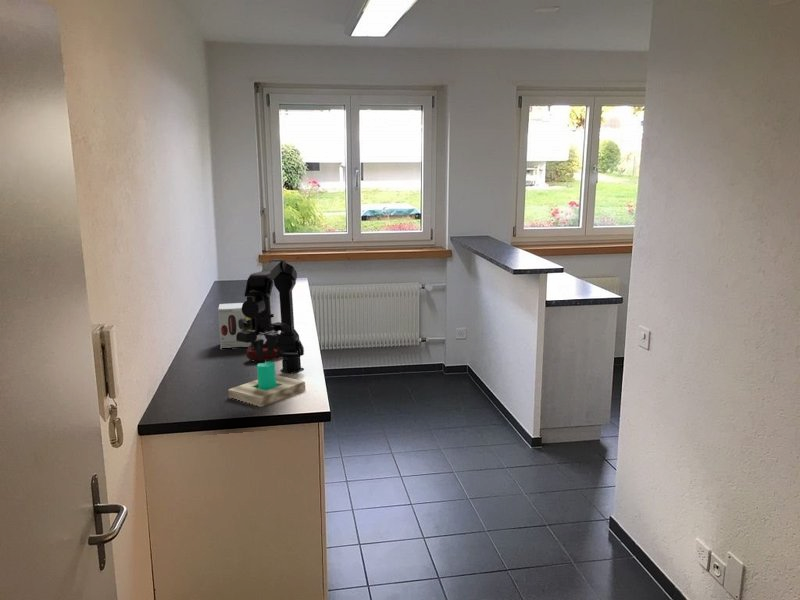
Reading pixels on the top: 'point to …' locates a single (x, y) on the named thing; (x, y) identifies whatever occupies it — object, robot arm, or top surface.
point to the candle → (266, 375)
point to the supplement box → (230, 324)
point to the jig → (266, 391)
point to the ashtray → (253, 355)
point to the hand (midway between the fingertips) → (265, 356)
